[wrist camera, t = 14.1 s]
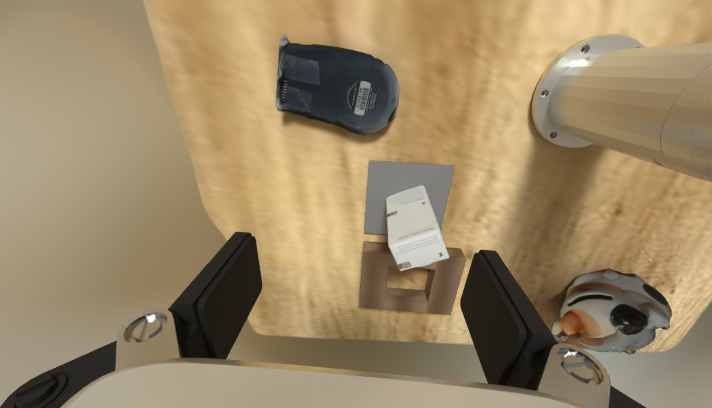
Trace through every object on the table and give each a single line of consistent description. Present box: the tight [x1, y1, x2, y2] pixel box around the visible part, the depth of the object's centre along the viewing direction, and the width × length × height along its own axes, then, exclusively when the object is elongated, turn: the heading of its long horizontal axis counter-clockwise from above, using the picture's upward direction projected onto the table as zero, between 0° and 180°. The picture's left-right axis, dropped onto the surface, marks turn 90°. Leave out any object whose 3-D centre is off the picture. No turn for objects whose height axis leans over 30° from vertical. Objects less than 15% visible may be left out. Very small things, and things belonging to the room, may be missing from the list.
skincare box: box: [386, 186, 449, 271], centre depth 35 cm, size 6×4×12 cm
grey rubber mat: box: [364, 160, 454, 235], centre depth 41 cm, size 12×12×1 cm
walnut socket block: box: [359, 241, 466, 315], centre depth 46 cm, size 16×12×3 cm
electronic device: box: [276, 33, 400, 135], centre depth 33 cm, size 9×6×15 cm
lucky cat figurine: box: [552, 269, 672, 354], centre depth 41 cm, size 15×12×14 cm
